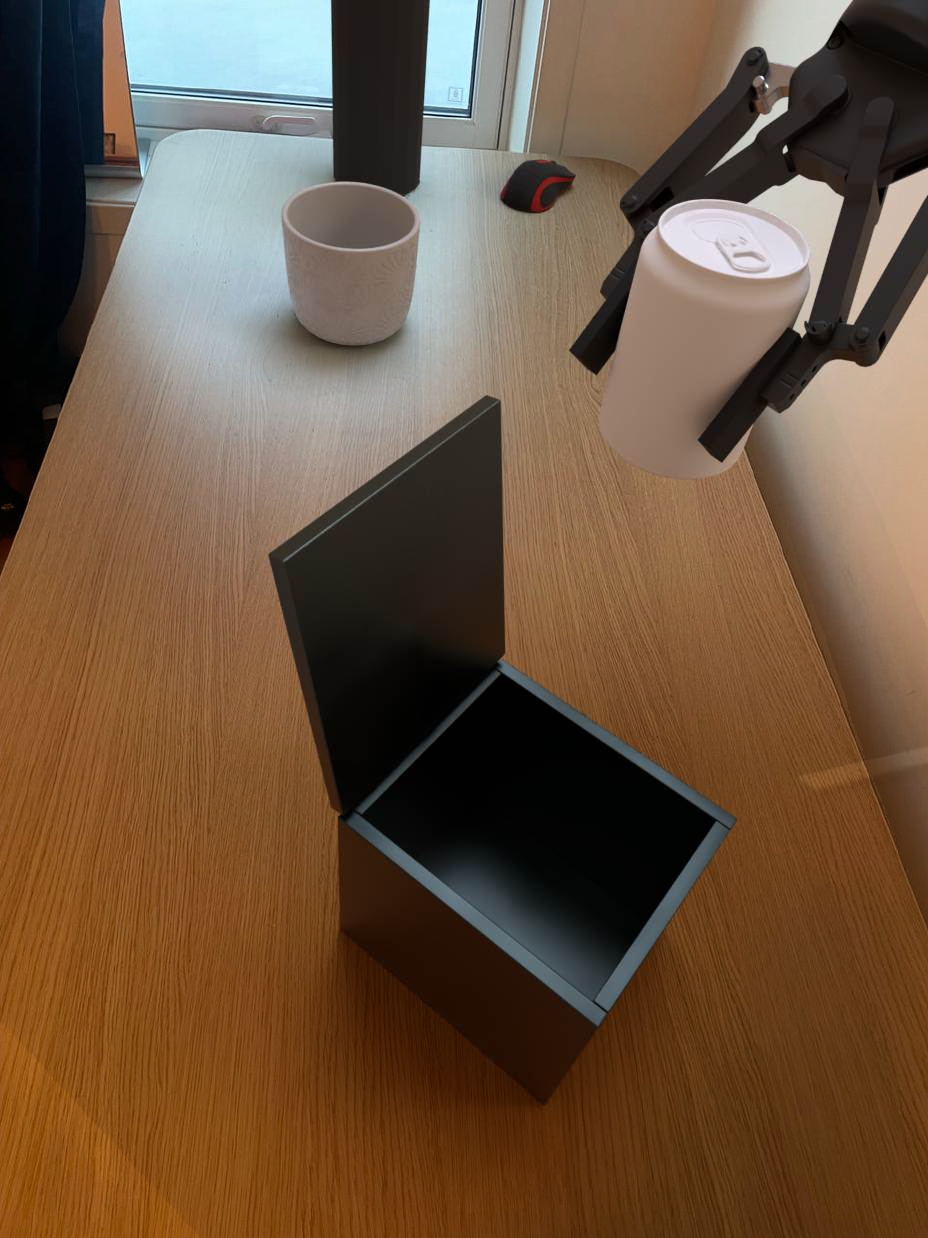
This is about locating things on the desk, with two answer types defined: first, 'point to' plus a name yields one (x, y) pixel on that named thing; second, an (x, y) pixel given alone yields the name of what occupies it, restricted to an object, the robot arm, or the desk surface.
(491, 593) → the bin lid
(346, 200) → the planter
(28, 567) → the desk surface
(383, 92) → the vase
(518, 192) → the computer mouse
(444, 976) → the trash bin
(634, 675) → the desk surface
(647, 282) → the beverage can
